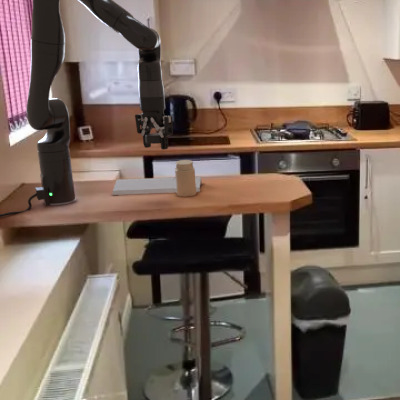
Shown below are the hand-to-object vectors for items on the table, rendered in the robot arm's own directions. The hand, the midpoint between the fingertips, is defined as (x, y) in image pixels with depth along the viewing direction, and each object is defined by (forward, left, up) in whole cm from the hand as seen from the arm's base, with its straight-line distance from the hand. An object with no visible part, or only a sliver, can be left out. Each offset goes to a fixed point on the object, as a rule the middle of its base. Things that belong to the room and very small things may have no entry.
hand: (156, 148), depth 188 cm
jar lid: (0, 0, +4) cm, 4 cm away
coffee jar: (+10, +5, -17) cm, 21 cm away
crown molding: (+4, +17, -18) cm, 25 cm away
